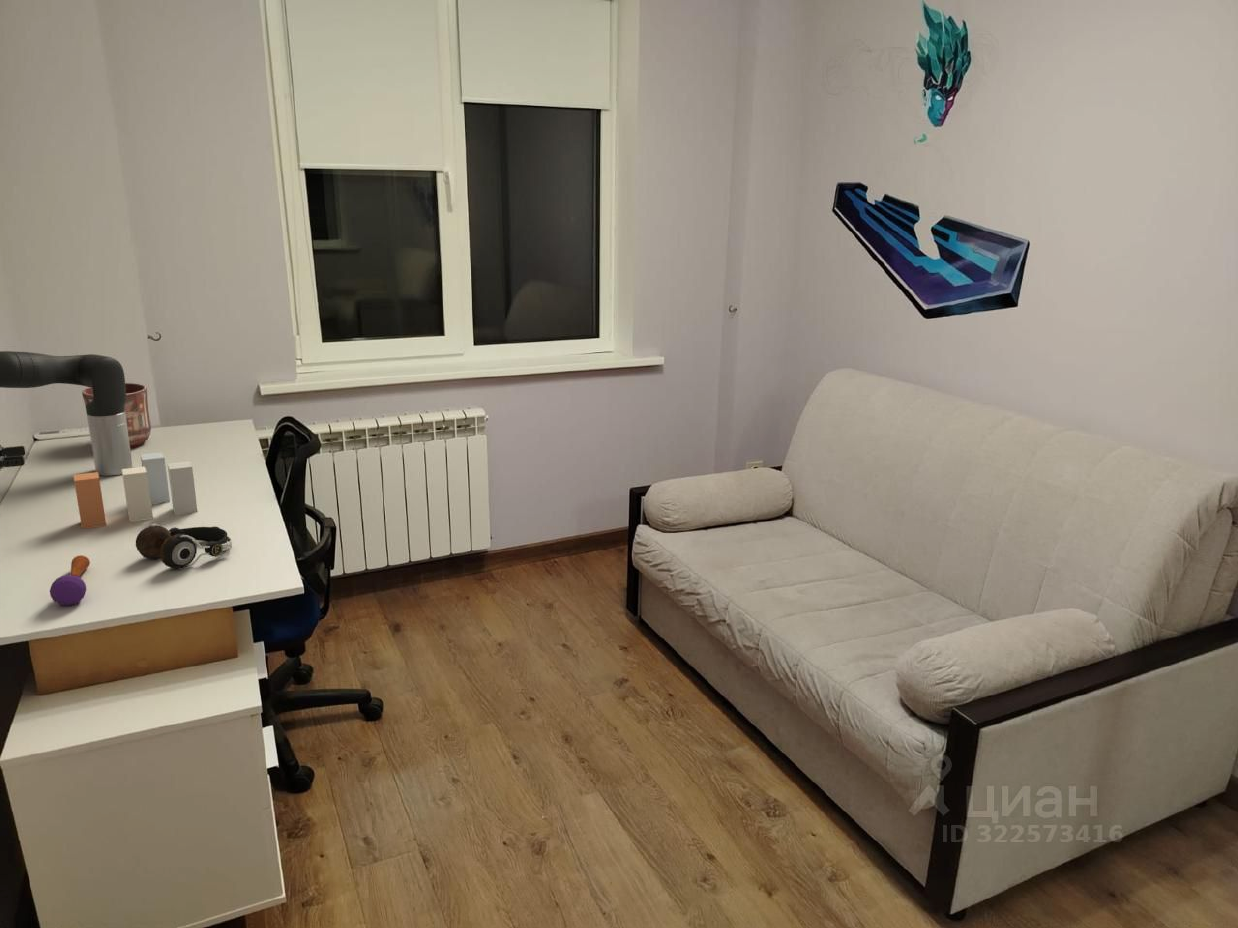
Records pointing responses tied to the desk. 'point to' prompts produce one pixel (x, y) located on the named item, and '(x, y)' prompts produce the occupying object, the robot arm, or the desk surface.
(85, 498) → the rust block
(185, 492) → the grey block
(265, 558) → the desk surface
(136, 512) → the cream block
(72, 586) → the purple maraca
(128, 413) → the pottery
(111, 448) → the robot arm
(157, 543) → the headset
